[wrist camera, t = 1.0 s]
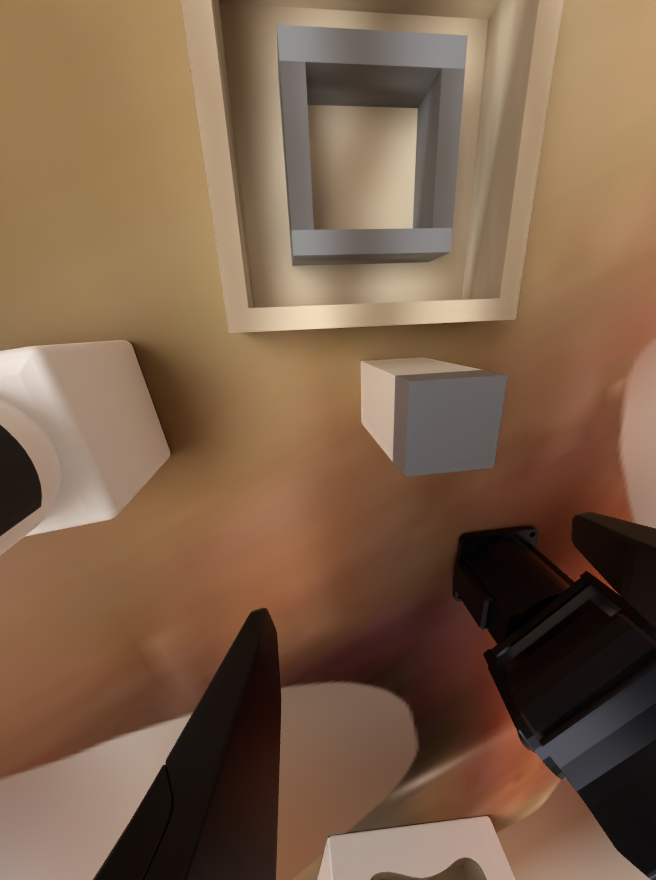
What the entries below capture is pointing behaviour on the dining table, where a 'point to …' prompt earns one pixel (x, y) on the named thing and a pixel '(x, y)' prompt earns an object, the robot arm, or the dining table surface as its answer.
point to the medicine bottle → (73, 436)
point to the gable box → (418, 853)
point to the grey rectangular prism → (432, 413)
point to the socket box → (370, 155)
